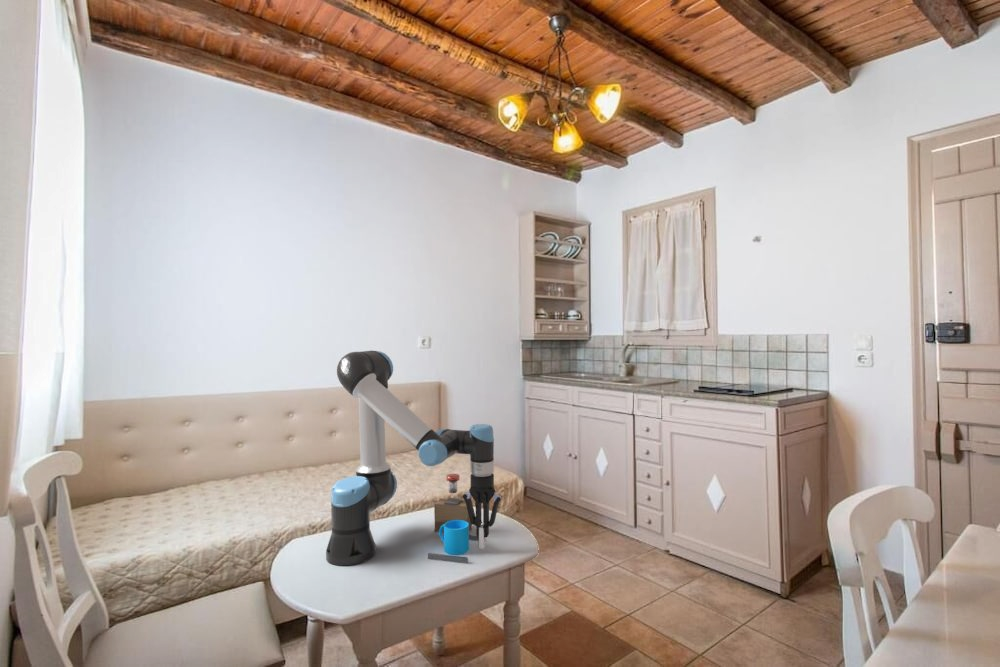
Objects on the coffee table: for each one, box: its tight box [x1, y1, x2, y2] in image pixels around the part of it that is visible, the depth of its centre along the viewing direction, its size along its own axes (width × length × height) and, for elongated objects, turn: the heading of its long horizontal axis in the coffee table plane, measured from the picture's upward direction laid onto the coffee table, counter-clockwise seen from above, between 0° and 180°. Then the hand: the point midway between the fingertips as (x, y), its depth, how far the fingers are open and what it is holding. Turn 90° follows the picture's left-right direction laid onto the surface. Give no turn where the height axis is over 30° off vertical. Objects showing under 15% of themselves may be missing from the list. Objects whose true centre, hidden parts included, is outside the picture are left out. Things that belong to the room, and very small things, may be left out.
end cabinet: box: [433, 497, 473, 534], centre depth 173 cm, size 6×12×11 cm, turn 75°
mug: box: [438, 520, 470, 556], centre depth 159 cm, size 12×8×8 cm
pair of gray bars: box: [427, 534, 479, 564], centre depth 158 cm, size 13×17×2 cm
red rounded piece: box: [446, 473, 460, 494], centre depth 173 cm, size 5×5×6 cm
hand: (482, 546), depth 156 cm, fingers closed
